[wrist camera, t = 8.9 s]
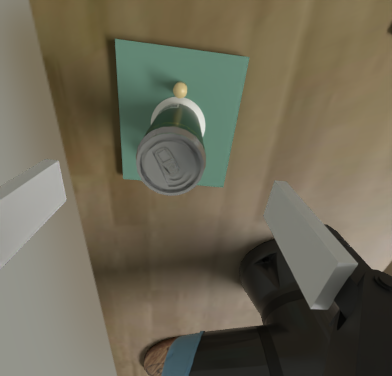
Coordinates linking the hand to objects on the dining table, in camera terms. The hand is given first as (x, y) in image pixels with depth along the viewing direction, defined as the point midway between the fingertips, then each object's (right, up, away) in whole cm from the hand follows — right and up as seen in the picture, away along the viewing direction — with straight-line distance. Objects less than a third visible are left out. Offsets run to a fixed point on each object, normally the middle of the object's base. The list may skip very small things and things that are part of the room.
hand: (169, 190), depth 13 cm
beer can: (-1, +8, +13) cm, 15 cm away
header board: (-1, +8, +14) cm, 16 cm away
